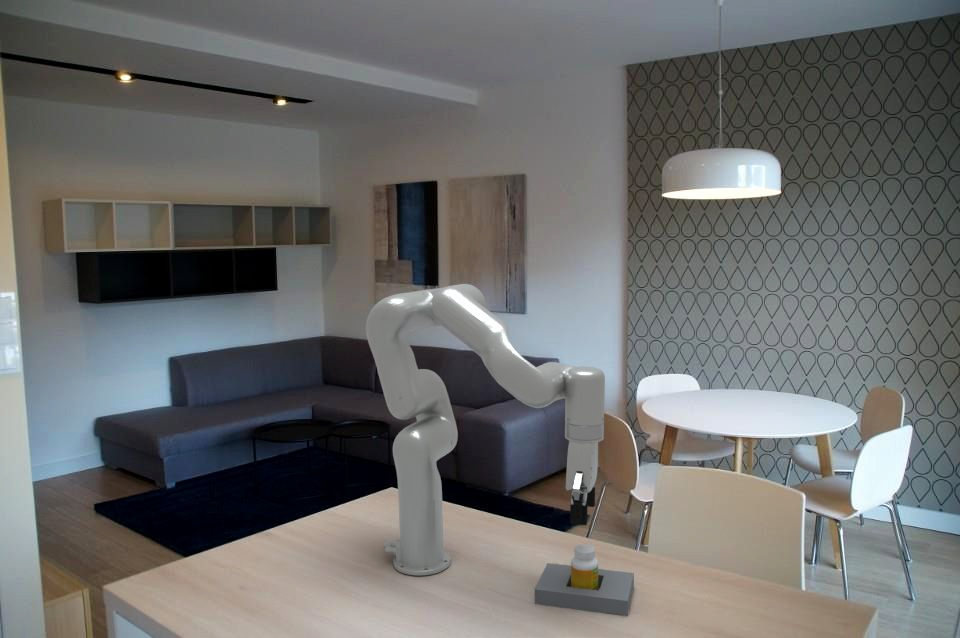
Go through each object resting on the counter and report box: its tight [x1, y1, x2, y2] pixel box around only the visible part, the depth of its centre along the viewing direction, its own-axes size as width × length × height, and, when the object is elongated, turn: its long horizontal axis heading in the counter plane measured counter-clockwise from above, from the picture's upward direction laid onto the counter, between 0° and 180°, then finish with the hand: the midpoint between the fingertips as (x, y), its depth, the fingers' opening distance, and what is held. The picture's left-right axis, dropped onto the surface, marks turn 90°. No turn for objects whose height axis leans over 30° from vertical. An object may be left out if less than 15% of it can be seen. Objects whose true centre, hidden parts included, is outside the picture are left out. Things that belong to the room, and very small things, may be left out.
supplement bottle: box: [570, 544, 599, 590], centre depth 149 cm, size 5×5×10 cm
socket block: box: [534, 562, 635, 617], centre depth 149 cm, size 18×12×3 cm, turn 73°
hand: (582, 514), depth 147 cm, fingers open, 9 cm apart
